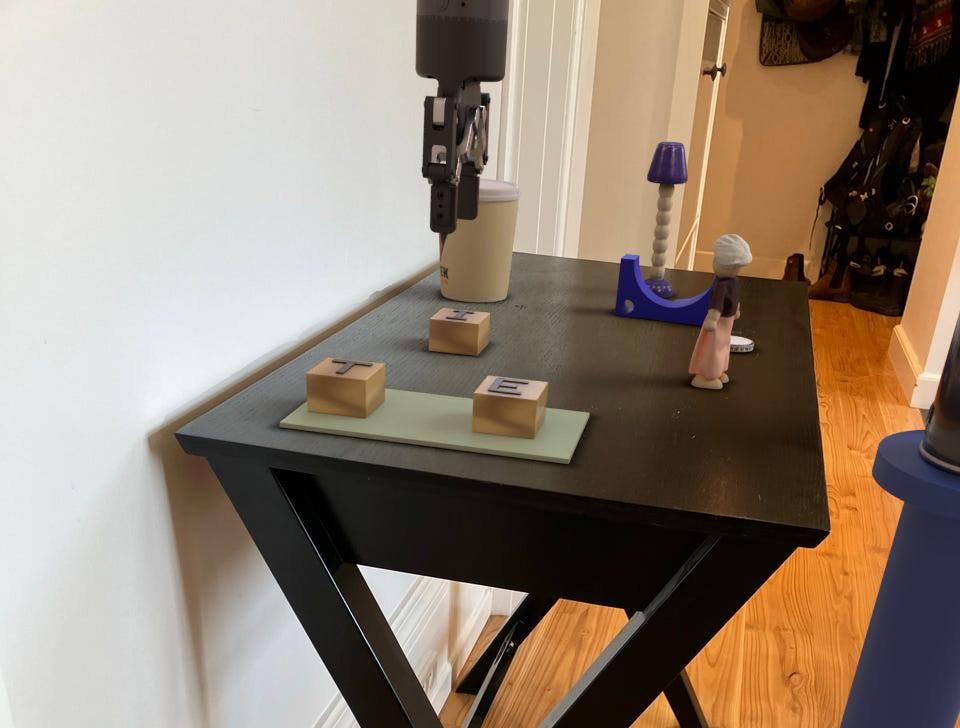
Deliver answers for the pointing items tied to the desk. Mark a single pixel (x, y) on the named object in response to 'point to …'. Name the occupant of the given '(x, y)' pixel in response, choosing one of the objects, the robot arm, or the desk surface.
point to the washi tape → (741, 344)
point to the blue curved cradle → (655, 298)
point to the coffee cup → (481, 247)
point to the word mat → (446, 427)
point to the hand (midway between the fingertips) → (454, 225)
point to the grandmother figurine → (720, 313)
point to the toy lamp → (664, 208)
